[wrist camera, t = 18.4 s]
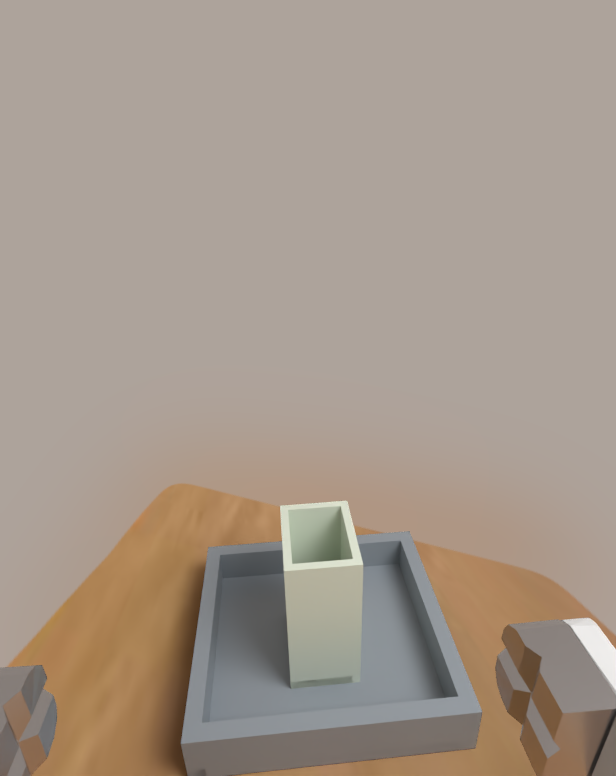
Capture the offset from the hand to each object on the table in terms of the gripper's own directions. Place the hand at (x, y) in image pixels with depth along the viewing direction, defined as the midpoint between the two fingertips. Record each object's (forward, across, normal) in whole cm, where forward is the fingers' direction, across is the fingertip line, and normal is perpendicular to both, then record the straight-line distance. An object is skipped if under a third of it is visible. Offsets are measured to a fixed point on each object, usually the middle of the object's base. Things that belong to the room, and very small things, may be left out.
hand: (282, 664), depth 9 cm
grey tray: (+23, -3, +30) cm, 38 cm away
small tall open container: (+22, -3, +29) cm, 37 cm away
